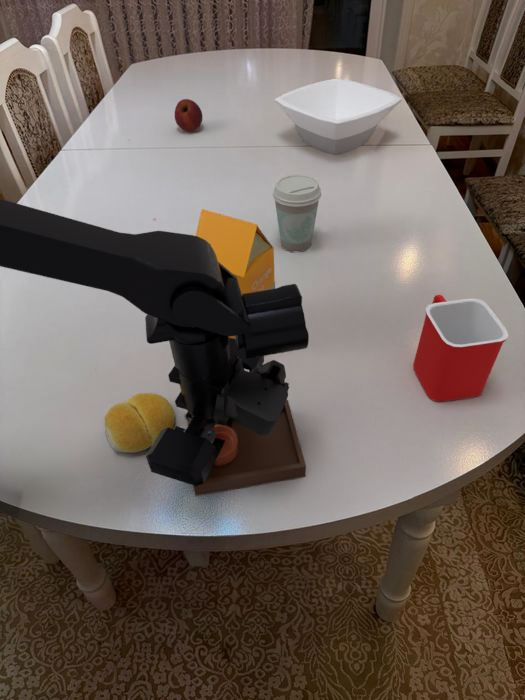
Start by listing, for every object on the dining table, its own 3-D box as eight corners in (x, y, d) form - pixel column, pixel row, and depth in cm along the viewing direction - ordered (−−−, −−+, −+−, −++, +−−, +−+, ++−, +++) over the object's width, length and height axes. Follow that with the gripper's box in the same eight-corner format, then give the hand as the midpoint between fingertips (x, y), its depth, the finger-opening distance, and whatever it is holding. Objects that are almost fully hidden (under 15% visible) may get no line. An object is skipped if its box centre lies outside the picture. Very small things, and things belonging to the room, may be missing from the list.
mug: (488, 396, 67) (514, 339, 59) (430, 405, 66) (448, 348, 58) (451, 336, 75) (468, 279, 68) (398, 343, 74) (410, 287, 67)
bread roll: (186, 431, 65) (181, 413, 62) (121, 465, 61) (113, 447, 58) (159, 391, 70) (154, 372, 67) (98, 421, 66) (90, 402, 63)
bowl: (335, 171, 115) (338, 126, 108) (267, 139, 129) (266, 97, 122) (404, 141, 125) (411, 98, 118) (334, 115, 140) (336, 75, 132)
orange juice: (229, 307, 82) (217, 195, 68) (276, 324, 78) (273, 210, 64) (202, 336, 77) (183, 222, 63) (251, 356, 74) (241, 240, 60)
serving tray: (195, 496, 58) (192, 486, 56) (189, 426, 65) (186, 415, 64) (305, 476, 59) (306, 466, 58) (287, 410, 66) (287, 399, 65)
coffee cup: (270, 254, 92) (268, 194, 84) (277, 230, 98) (276, 171, 90) (316, 257, 91) (319, 197, 83) (320, 232, 97) (323, 173, 88)
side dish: (201, 470, 60) (199, 460, 58) (198, 438, 63) (196, 427, 62) (241, 464, 60) (239, 453, 59) (235, 432, 64) (234, 421, 62)
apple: (171, 133, 134) (166, 102, 129) (185, 123, 139) (180, 92, 134) (195, 137, 132) (191, 105, 127) (208, 126, 137) (205, 95, 132)
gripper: (242, 455, 42) (252, 537, 53) (306, 315, 54) (303, 405, 65) (127, 421, 45) (159, 505, 56) (212, 296, 57) (225, 385, 68)
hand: (218, 446), depth 61 cm, fingers closed on side dish, 5 cm apart
